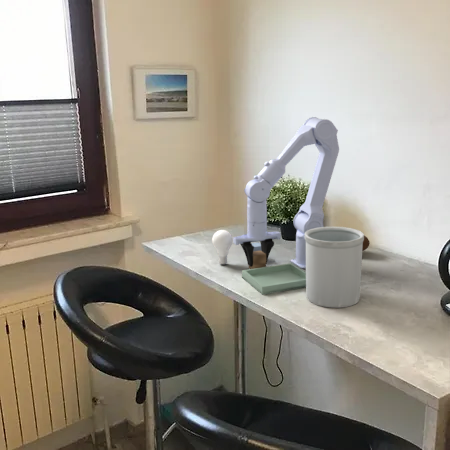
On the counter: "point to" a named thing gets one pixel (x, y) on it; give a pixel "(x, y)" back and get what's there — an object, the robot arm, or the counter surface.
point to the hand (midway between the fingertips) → (257, 264)
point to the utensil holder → (333, 266)
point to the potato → (365, 243)
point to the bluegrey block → (256, 246)
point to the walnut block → (258, 259)
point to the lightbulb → (222, 244)
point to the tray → (275, 278)
